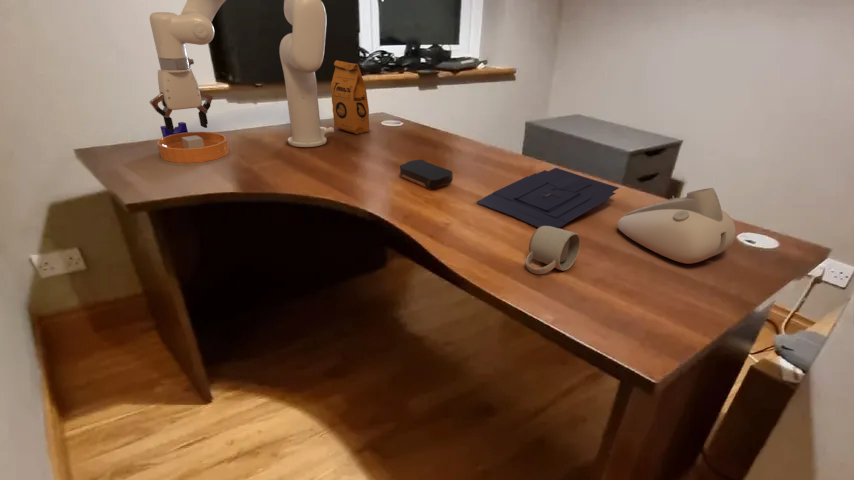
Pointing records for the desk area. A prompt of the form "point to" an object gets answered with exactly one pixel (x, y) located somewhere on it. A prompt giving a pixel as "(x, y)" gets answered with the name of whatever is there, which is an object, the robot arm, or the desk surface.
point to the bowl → (175, 151)
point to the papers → (549, 197)
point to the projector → (682, 227)
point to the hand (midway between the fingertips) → (188, 129)
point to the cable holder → (179, 129)
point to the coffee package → (349, 98)
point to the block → (192, 142)
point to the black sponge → (426, 174)
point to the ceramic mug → (553, 249)
